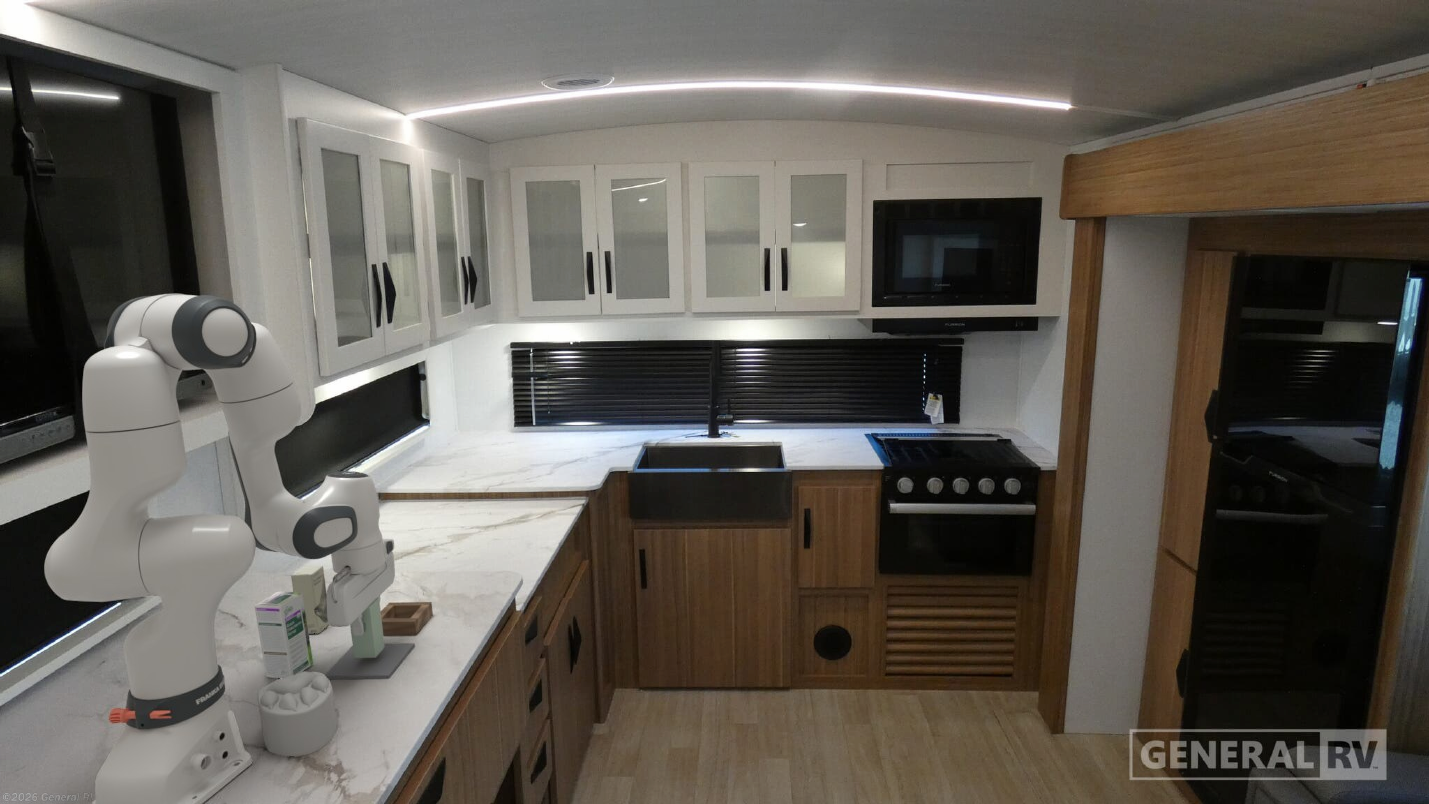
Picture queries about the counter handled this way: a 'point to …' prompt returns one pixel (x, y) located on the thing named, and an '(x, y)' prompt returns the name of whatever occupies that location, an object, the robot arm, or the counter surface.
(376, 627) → the peg
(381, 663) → the mat
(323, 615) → the box
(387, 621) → the block
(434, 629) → the counter surface
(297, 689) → the lumpy-topped squat cylinder
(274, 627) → the syrup box
